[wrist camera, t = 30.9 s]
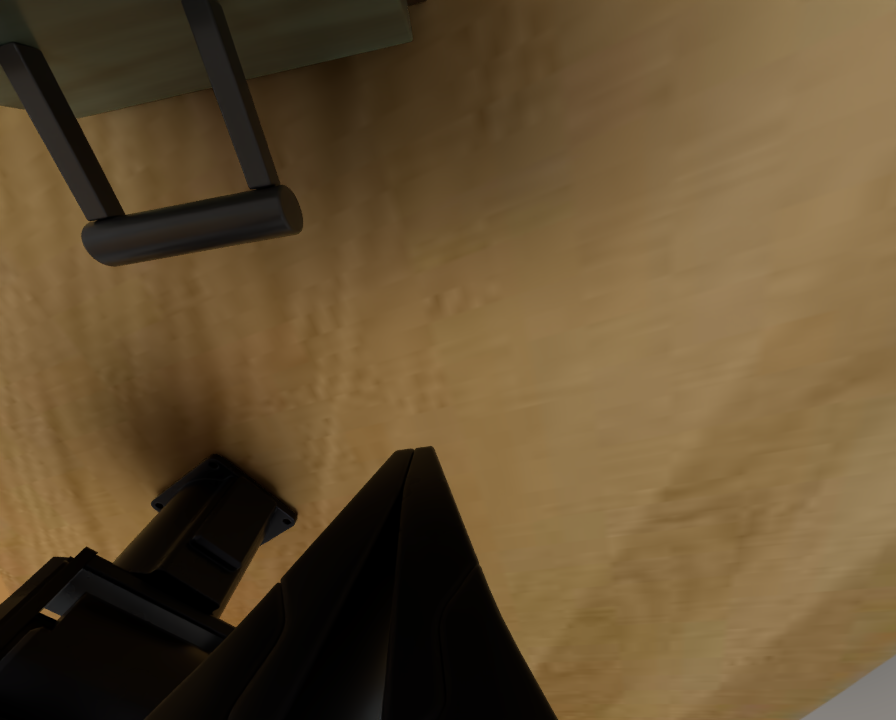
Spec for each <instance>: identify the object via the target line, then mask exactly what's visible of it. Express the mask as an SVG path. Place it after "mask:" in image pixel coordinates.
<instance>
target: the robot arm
mask: <svg viewBox="0 0 896 720" xmlns="http://www.w3.org/2000/svg"><path fill="white" fill-rule="evenodd" d="M151 506H152V507H153V508H154V509H155V510H157V511H158V512H159V513H158V514H157V515H156V516H155V517H154V518H153V519H152V520H151V522H150V523H149V524H148V525H147V526H146V527H145V528H144V529H143V530H142V531H141V532H140V534H139V535H138V536H137V537H136V538H135V539H134V540H133V541H132V542H131V543H130V544H129V545H128V547H127V548H126V549H125V550H124V551H123V552H122V553H121V554H120V555H119V556H118V557H117V559H116V560H115V561H114V562H113V563H111V562H109V561H107V560H106V559H104V558H102V557H100V556H98V555H96V554H97V553H98V552H96V551H94V550H92V549H90V548H88V547H87V546H86V547H85V548H84V549H83V550H82V551H81V552H80V553H79V554H78V555H77V556H76V557H75V558H73V557H71V556H70V557H69V558H68V557H53V558H52V559H50V560H49V561H48V562H47V563H46V564H45V565H44V566H43V567H42V568H41V569H40V570H38V571H37V572H36V573H35V574H34V575H33V576H32V577H31V578H30V579H29V580H28V581H26V582H25V583H24V584H23V585H22V586H21V587H20V588H19V589H18V590H16V591H15V592H14V593H13V594H12V595H11V596H10V597H8V598H7V599H6V600H5V601H4V602H3V603H1V604H0V720H558V719H557V717H556V715H555V713H554V712H553V710H552V708H551V706H550V704H549V703H548V701H547V699H546V697H545V696H544V694H543V692H542V690H541V688H540V687H539V685H538V683H537V681H536V679H535V678H534V676H533V674H532V672H531V670H530V669H529V667H528V665H527V663H526V662H525V660H524V658H523V656H522V654H521V653H520V651H519V649H518V647H517V645H516V643H515V641H514V639H513V637H512V635H511V633H510V631H509V630H508V628H507V626H506V624H505V622H504V620H503V618H502V616H501V614H500V611H499V609H498V607H497V605H496V602H495V600H494V598H493V595H492V593H491V591H490V589H489V586H488V584H487V581H486V579H485V576H484V574H483V571H482V568H481V567H480V565H479V561H478V559H477V556H476V554H475V551H474V549H473V546H472V544H471V541H470V539H469V536H468V534H467V531H466V528H465V526H464V523H463V521H462V518H461V516H460V513H459V511H458V508H457V506H456V503H455V500H454V498H453V495H452V493H451V490H450V488H449V485H448V483H447V480H446V478H445V475H444V472H443V470H442V467H441V465H440V462H439V460H438V457H437V455H436V452H435V450H434V448H433V447H432V446H428V447H420V448H416V449H415V450H414V449H404V450H397V451H395V452H394V453H393V454H392V455H391V456H390V458H389V459H388V460H387V461H386V462H385V463H384V464H383V465H382V467H381V468H380V469H379V470H378V471H377V472H376V473H375V474H374V475H373V477H372V478H371V479H370V480H369V481H368V482H367V483H366V484H365V485H364V487H363V488H362V489H361V490H360V491H359V492H358V493H357V494H356V496H355V497H354V498H353V499H352V500H351V501H350V502H349V503H348V504H347V506H346V507H345V508H344V509H343V510H342V511H341V512H340V513H339V515H338V516H337V517H336V518H335V519H334V520H333V521H332V522H331V523H330V525H329V526H328V527H327V528H326V529H325V530H324V531H323V532H322V533H321V535H320V536H319V537H318V538H317V539H316V540H315V541H314V542H313V544H312V545H311V546H310V547H309V548H308V549H307V550H306V551H305V552H304V554H303V555H302V556H301V557H300V558H299V559H298V560H297V561H296V562H295V564H294V565H293V566H292V567H291V568H290V569H289V570H288V571H287V573H286V574H285V575H284V576H283V577H282V578H281V583H277V584H276V585H275V586H274V587H273V588H272V589H271V590H270V591H269V592H268V593H267V595H266V596H265V597H264V598H263V599H262V600H261V601H260V602H259V603H258V605H257V606H256V607H255V608H254V609H253V610H252V611H251V612H250V613H249V614H248V615H247V616H246V617H245V619H244V620H243V621H242V622H241V623H240V624H239V625H238V626H237V627H234V626H232V625H230V624H228V623H226V622H224V621H223V620H221V619H219V618H220V616H221V614H222V612H223V611H224V609H225V607H226V605H227V603H228V602H229V600H230V598H231V596H232V595H233V593H234V591H235V589H236V587H237V586H238V584H239V582H240V580H241V578H242V577H243V575H244V573H245V571H246V569H247V568H248V566H249V564H250V562H251V561H252V559H253V557H254V555H255V553H256V552H257V550H258V548H259V546H261V545H262V544H264V543H266V542H267V541H269V540H271V539H272V538H274V537H276V536H277V535H279V534H281V533H282V532H284V531H286V530H287V529H289V528H291V527H292V526H294V525H295V523H296V520H297V515H296V514H295V513H294V512H293V511H292V510H290V509H289V508H288V507H287V506H285V505H284V504H283V503H281V502H280V501H279V500H278V499H276V498H275V497H274V496H272V495H271V494H270V493H269V492H267V491H266V490H265V489H264V488H262V487H261V486H260V485H258V484H257V483H256V482H255V481H253V480H252V479H251V478H250V477H248V476H247V475H246V474H244V473H243V472H242V471H241V470H239V469H238V468H237V467H235V466H234V465H233V464H232V463H230V462H229V461H228V460H227V459H225V458H224V457H223V456H221V455H218V454H213V455H211V456H209V457H208V458H207V459H205V460H204V461H203V462H201V463H200V464H199V465H197V466H196V467H195V468H193V469H192V470H191V471H190V472H188V473H187V474H186V475H184V476H183V477H182V478H180V479H179V480H178V481H176V482H175V483H174V484H172V485H171V486H170V487H168V488H167V489H166V490H165V491H163V492H162V493H161V494H159V495H158V496H157V497H156V498H155V499H154V500H153V501H152V502H151ZM44 608H45V609H48V610H50V611H52V612H54V613H56V614H58V615H61V617H60V618H59V619H58V620H55V619H53V618H50V617H48V616H46V615H44V614H41V613H40V612H41V611H42V610H43V609H44Z"/></svg>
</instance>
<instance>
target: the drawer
mask: <svg viewBox="0 0 896 720" xmlns="http://www.w3.org/2000/svg"><path fill="white" fill-rule="evenodd" d="M412 40H413V35H412V29H411V22H410V16H409V10H408V4H407V0H0V106H6V107H12V108H18V109H24V110H26V111H27V113H28V115H29V117H30V118H31V120H32V122H33V124H34V126H35V127H36V129H37V131H38V133H39V134H40V136H41V138H42V140H43V142H44V143H45V145H46V147H47V149H48V151H49V152H50V154H51V156H52V158H53V160H54V161H55V163H56V165H57V167H58V168H59V170H60V172H61V174H62V176H63V177H64V179H65V181H66V183H67V185H68V186H69V188H70V190H71V192H72V193H73V195H74V197H75V199H76V201H77V202H78V204H79V206H80V208H81V210H82V211H83V213H84V215H85V217H86V219H87V220H88V221H92V222H89V223H88V224H86V225H85V226H84V228H83V230H82V233H81V238H82V242H83V245H84V247H85V249H86V250H87V252H88V253H89V254H90V255H91V256H92V257H93V258H94V259H95V260H97V261H98V262H100V263H102V264H105V265H108V266H113V267H117V266H123V265H128V264H134V263H139V262H145V261H150V260H156V259H162V258H167V257H173V256H178V255H184V254H190V253H195V252H201V251H206V250H212V249H218V248H223V247H229V246H234V245H240V244H245V243H251V242H257V241H262V240H268V239H273V238H279V237H285V236H290V235H296V234H299V233H300V232H301V231H302V229H303V216H302V212H301V208H300V205H299V203H298V200H297V198H296V197H295V195H294V193H293V192H292V191H291V189H290V188H288V187H287V186H285V185H280V181H279V178H278V175H277V172H276V169H275V166H274V163H273V160H272V157H271V154H270V151H269V148H268V145H267V142H266V139H265V136H264V133H263V130H262V127H261V124H260V121H259V117H258V114H257V111H256V108H255V105H254V102H253V99H252V96H251V93H250V90H249V87H248V84H247V81H246V80H247V79H252V78H256V77H260V76H265V75H269V74H273V73H278V72H282V71H286V70H291V69H295V68H299V67H304V66H308V65H312V64H317V63H321V62H325V61H330V60H334V59H338V58H343V57H347V56H351V55H356V54H360V53H364V52H369V51H373V50H377V49H382V48H386V47H391V46H395V45H399V44H404V43H408V42H411V41H412ZM208 88H213V91H214V94H215V96H216V99H217V102H218V105H219V107H220V110H221V113H222V116H223V118H224V121H225V124H226V127H227V129H228V132H229V135H230V137H231V140H232V143H233V146H234V148H235V151H236V154H237V157H238V159H239V162H240V165H241V168H242V170H243V173H244V176H245V178H246V181H247V184H248V187H249V188H250V189H256V190H251V191H246V192H241V193H236V194H231V195H225V196H220V197H215V198H210V199H205V200H200V201H195V202H190V203H185V204H179V205H174V206H169V207H164V208H159V209H154V210H149V211H144V212H138V213H133V214H128V215H125V213H124V211H123V209H122V207H121V205H120V203H119V201H118V199H117V197H116V195H115V193H114V191H113V189H112V187H111V185H110V183H109V182H108V180H107V178H106V176H105V174H104V172H103V170H102V168H101V166H100V164H99V162H98V160H97V158H96V156H95V154H94V152H93V150H92V148H91V147H90V145H89V143H88V141H87V139H86V137H85V135H84V133H83V131H82V129H81V127H80V125H79V123H78V121H77V119H76V118H82V117H87V116H91V115H95V114H100V113H104V112H108V111H113V110H117V109H121V108H126V107H130V106H134V105H139V104H143V103H147V102H152V101H156V100H160V99H165V98H169V97H173V96H178V95H182V94H186V93H191V92H195V91H199V90H204V89H208ZM96 220H97V221H96Z"/></svg>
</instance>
